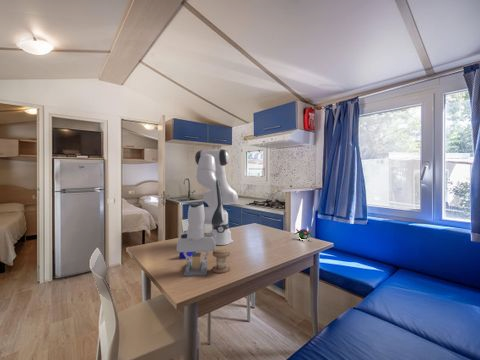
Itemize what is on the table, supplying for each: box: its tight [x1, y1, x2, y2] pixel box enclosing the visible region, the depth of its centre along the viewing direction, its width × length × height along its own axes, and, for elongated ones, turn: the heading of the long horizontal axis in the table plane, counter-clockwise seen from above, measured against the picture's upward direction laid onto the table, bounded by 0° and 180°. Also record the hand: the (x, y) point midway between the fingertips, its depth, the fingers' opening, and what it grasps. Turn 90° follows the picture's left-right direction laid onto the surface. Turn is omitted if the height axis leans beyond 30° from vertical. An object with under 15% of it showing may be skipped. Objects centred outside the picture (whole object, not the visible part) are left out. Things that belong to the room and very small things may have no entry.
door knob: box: [212, 249, 231, 274], centre depth 119 cm, size 9×9×9 cm
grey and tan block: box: [191, 252, 202, 269], centre depth 120 cm, size 4×4×7 cm
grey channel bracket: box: [183, 257, 208, 277], centre depth 120 cm, size 16×11×4 cm
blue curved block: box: [178, 252, 197, 260], centre depth 141 cm, size 12×4×6 cm, turn 153°
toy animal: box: [293, 228, 315, 239], centre depth 173 cm, size 11×15×10 cm
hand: (196, 259), depth 120 cm, fingers open, 8 cm apart
